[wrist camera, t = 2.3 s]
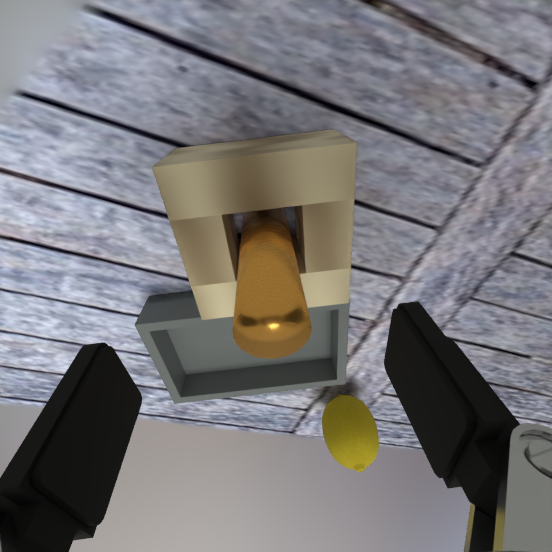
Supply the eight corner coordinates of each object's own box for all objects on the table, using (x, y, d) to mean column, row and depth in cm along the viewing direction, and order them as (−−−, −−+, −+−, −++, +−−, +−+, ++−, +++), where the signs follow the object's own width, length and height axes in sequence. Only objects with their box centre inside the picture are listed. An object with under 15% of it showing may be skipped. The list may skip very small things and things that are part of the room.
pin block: (333, 129, 18) (357, 142, 14) (332, 264, 24) (349, 302, 20) (175, 148, 18) (151, 167, 14) (211, 278, 24) (201, 320, 20)
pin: (283, 190, 20) (310, 295, 10) (286, 230, 22) (313, 354, 12) (240, 196, 20) (225, 306, 10) (247, 235, 22) (239, 362, 12)
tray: (338, 273, 24) (349, 299, 21) (336, 354, 30) (345, 384, 27) (149, 296, 24) (134, 325, 21) (182, 372, 30) (174, 403, 27)
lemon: (309, 389, 33) (322, 467, 26) (355, 373, 32) (382, 450, 25) (326, 413, 36) (342, 489, 29) (369, 399, 35) (396, 474, 28)
